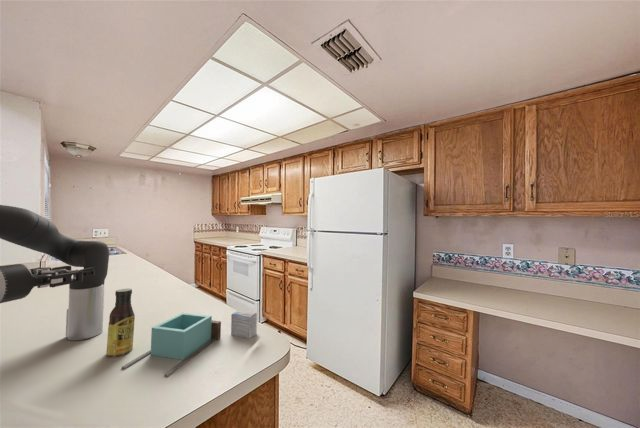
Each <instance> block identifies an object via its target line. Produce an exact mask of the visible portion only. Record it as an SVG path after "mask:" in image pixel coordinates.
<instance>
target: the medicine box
mask: <svg viewBox="0 0 640 428" xmlns="http://www.w3.org/2000/svg"><path fill="white" fill-rule="evenodd" d="M257 316H258V315H257V312H254V311H248V310H242V309H239V310H237V311H234V312H233V313H231V317H230V318H231V321H230V322H231V324H230V335H231V336H237V337H241V338H246V339H251V338H252V337H254V336H255V335H257V327H258V326H257V325H258V324H257V319H258V318H257Z"/></svg>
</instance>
